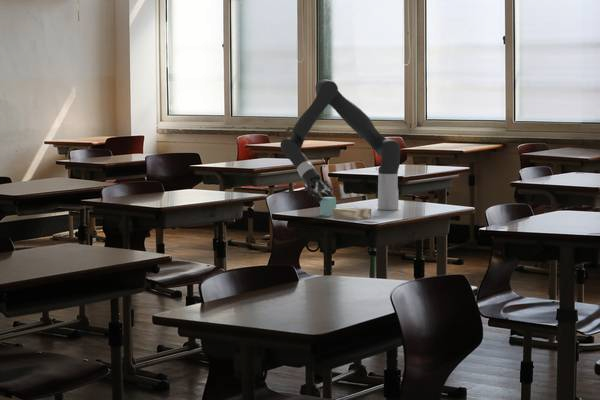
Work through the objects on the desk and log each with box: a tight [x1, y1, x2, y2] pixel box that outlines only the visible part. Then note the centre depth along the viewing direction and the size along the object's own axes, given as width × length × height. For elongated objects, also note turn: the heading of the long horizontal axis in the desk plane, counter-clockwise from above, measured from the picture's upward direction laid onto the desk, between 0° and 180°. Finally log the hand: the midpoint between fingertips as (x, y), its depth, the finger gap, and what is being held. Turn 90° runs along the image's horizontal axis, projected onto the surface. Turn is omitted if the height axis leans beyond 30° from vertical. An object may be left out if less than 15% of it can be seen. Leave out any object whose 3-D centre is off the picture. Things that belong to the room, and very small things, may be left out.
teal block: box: [319, 196, 337, 217], centre depth 452 cm, size 5×5×8 cm
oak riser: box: [332, 206, 372, 221], centre depth 443 cm, size 12×12×4 cm
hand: (326, 200), depth 452 cm, fingers open, 8 cm apart
